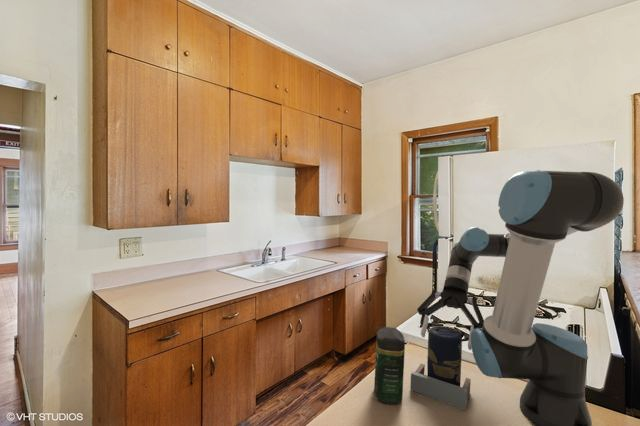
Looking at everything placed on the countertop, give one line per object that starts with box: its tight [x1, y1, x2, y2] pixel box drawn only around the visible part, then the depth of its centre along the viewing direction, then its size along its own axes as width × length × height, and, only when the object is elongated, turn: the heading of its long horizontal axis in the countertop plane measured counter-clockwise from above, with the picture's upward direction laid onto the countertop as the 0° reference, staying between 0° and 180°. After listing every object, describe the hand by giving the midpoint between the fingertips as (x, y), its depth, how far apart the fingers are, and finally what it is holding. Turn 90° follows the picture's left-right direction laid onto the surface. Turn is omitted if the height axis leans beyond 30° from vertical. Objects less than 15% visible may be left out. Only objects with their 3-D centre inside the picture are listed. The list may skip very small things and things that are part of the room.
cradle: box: [414, 363, 472, 401], centre depth 93 cm, size 14×8×4 cm, turn 56°
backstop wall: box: [409, 370, 468, 411], centre depth 89 cm, size 15×2×5 cm, turn 56°
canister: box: [426, 325, 463, 387], centre depth 95 cm, size 10×10×18 cm
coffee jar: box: [373, 326, 406, 405], centre depth 90 cm, size 10×8×19 cm
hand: (445, 341), depth 96 cm, fingers open, 13 cm apart
